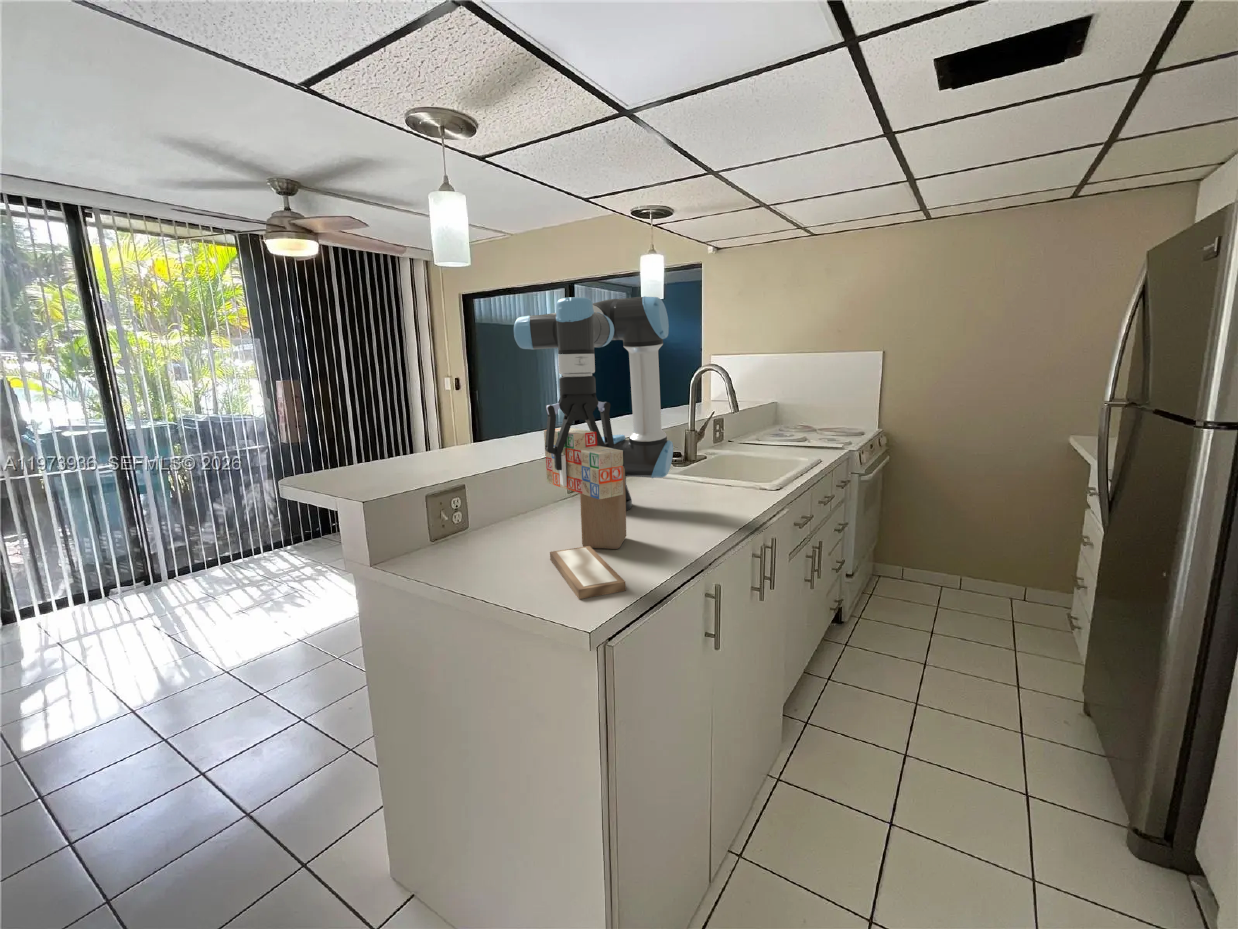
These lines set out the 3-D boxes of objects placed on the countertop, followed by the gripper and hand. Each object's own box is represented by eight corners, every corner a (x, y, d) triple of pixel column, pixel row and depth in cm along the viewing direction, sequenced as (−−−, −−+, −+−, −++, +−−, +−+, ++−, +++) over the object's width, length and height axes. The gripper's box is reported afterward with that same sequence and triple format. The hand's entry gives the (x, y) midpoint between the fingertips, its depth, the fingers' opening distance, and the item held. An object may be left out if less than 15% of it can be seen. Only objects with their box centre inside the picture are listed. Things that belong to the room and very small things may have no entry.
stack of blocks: (624, 495, 109) (623, 435, 107) (599, 500, 105) (597, 438, 103) (569, 478, 126) (567, 426, 124) (546, 482, 122) (543, 428, 120)
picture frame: (589, 553, 133) (589, 545, 132) (625, 590, 110) (625, 581, 110) (550, 559, 129) (549, 551, 129) (578, 599, 107) (578, 589, 107)
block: (619, 550, 134) (617, 472, 131) (581, 548, 136) (578, 471, 133) (627, 537, 144) (625, 464, 140) (591, 536, 146) (588, 464, 142)
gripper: (532, 377, 105) (538, 491, 109) (629, 373, 112) (631, 481, 116) (525, 376, 112) (531, 484, 116) (616, 373, 119) (618, 475, 123)
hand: (581, 482), depth 116 cm, fingers closed on stack of blocks, 7 cm apart
